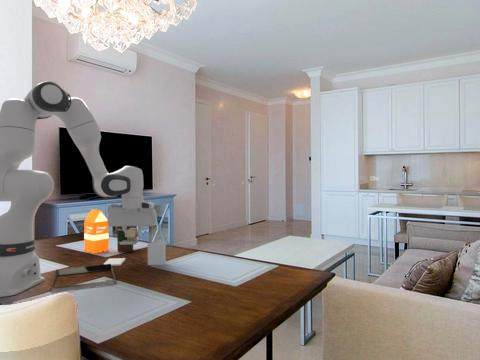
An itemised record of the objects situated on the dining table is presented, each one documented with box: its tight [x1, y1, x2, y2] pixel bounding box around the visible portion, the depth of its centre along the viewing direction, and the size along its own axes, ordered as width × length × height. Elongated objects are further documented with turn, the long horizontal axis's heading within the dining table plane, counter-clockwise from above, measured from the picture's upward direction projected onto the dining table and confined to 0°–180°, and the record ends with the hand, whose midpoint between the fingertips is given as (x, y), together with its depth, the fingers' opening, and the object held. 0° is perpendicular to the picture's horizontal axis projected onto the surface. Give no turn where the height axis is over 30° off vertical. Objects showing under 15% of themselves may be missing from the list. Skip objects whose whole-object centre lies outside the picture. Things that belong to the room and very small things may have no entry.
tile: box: [147, 241, 167, 266], centre depth 141 cm, size 2×7×9 cm, turn 97°
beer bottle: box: [116, 202, 134, 253], centre depth 165 cm, size 8×8×24 cm
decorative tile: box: [49, 263, 116, 293], centre depth 121 cm, size 20×3×20 cm
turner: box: [120, 227, 139, 245], centre depth 142 cm, size 12×6×5 cm, turn 5°
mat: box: [103, 257, 126, 267], centre depth 143 cm, size 10×7×1 cm
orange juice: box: [83, 208, 110, 254], centre depth 165 cm, size 8×9×20 cm
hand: (132, 236), depth 145 cm, fingers closed on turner, 3 cm apart
